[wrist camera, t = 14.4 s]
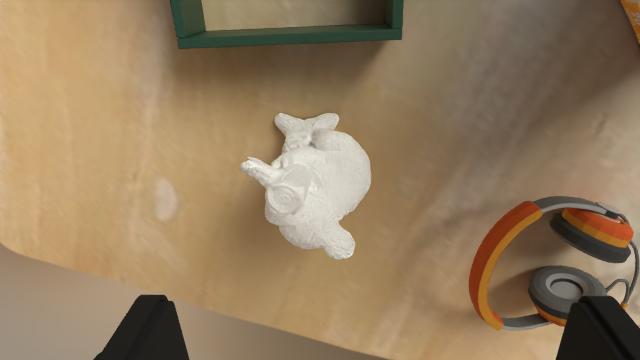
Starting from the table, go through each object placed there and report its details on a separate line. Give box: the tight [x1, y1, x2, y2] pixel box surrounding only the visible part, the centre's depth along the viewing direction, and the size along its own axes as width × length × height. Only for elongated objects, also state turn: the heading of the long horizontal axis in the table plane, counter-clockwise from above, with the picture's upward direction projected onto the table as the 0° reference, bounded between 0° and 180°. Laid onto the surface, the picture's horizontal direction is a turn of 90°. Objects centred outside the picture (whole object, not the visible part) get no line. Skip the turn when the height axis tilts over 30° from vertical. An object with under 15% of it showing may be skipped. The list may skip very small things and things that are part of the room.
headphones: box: [469, 196, 639, 331], centre depth 32 cm, size 17×5×20 cm
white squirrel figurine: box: [240, 113, 371, 260], centre depth 26 cm, size 8×7×12 cm
